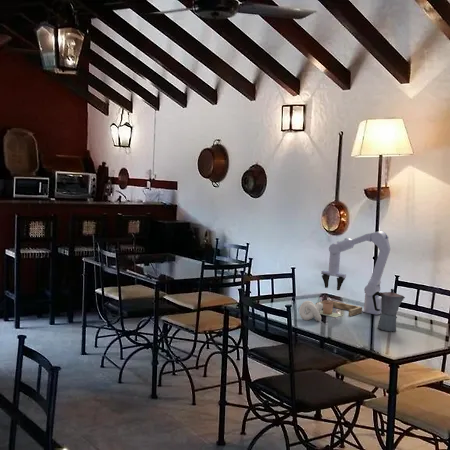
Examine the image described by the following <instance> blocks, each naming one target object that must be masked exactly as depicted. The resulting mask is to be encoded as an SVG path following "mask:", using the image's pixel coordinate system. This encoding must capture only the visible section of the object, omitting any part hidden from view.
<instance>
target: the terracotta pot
mask: <svg viewBox="0 0 450 450" xmlns="http://www.w3.org/2000/svg"><path fill="white" fill-rule="evenodd" d="M322 301H323V308H322V310H323V313H324V314H332V313H334V312H333V309H334V307H333V303H334V300H331V299H324V300H323V299H322Z"/></svg>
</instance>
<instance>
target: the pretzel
mask: <svg viewBox="0 0 450 450" xmlns="http://www.w3.org/2000/svg"><path fill="white" fill-rule="evenodd" d="M318 302H319V303H318ZM318 302H316V303H317V304H316V303H314V302H313V301H312V300H305V301H303V302H302V303H301V305H300V307H299V311H298V312H299V316H300V318H301V319H302V320H303V321H310V320H312V319H315V321H316V322H321V320H322V316H321V315H322V314H320V311H321V310H323V304H322V303H320V302H321V301H318Z"/></svg>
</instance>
